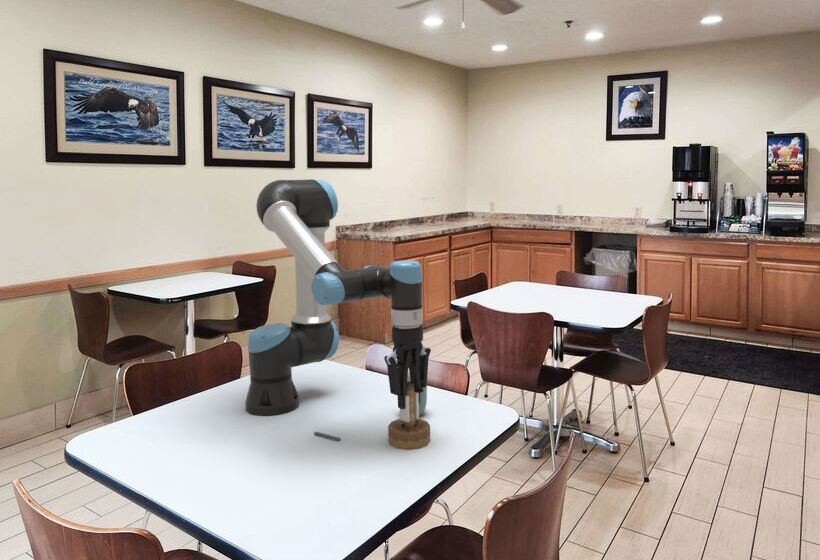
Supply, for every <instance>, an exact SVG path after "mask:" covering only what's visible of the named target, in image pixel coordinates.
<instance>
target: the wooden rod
mask: <svg viewBox="0 0 820 560" xmlns="http://www.w3.org/2000/svg"><path fill="white" fill-rule="evenodd" d="M406 395H408V396H409V416H410V422H405V421H404V422H405V428H407V429H410V428H415V412H414V382H411V381H407V392H406Z"/></svg>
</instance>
